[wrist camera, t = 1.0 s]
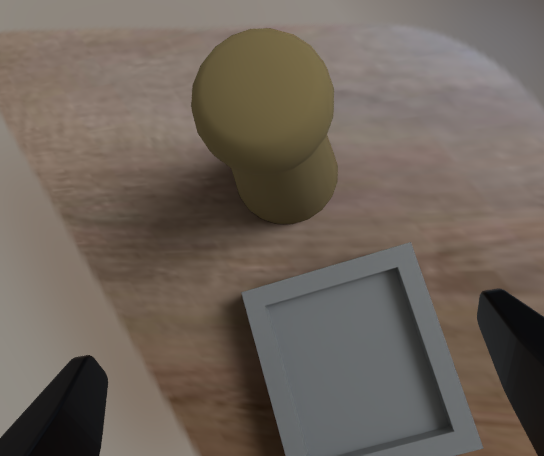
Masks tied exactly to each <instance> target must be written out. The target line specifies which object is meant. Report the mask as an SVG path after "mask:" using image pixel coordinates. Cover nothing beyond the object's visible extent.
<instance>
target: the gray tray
mask: <svg viewBox="0 0 544 456" xmlns="http://www.w3.org/2000/svg"><path fill="white" fill-rule="evenodd" d="M241 293H242V297H243V300H244V304H245V308H246V311H247V315H248V319H249V322H250V326H251V330H252V333H253V337H254V341H255V345H256V348H257V352H258V356H259V359H260V363H261V367H262V370H263V374H264V378H265V381H266V385H267V389H268V393H269V396H270V400H271V404H272V407H273V411H274V415H275V418H276V422H277V426H278V429H279V433H280V437H281V440H282V444H283V448H284V452H285V455H286V456H455V455H459V454H463V453H467V452H471V451H475V450H479V449H483V446H482V443H481V440H480V437H479V434H478V432H477V429H476V426H475V423H474V420H473V417H472V415H471V412H470V409H469V406H468V403H467V400H466V397H465V395H464V392H463V389H462V386H461V383H460V380H459V378H458V375H457V372H456V369H455V366H454V363H453V361H452V358H451V355H450V352H449V349H448V346H447V344H446V341H445V338H444V335H443V332H442V329H441V327H440V324H439V321H438V318H437V315H436V312H435V309H434V307H433V304H432V301H431V298H430V295H429V292H428V290H427V287H426V284H425V281H424V278H423V275H422V273H421V270H420V267H419V264H418V261H417V258H416V256H415V253H414V250H413V247H412V244H411V242H410V243H406V244H403V245H400V246H396V247H393V248H390V249H386V250H383V251H379V252H376V253H373V254H369V255H366V256H363V257H359V258H356V259H352V260H349V261H346V262H342V263H339V264H336V265H332V266H329V267H326V268H322V269H319V270H315V271H312V272H309V273H305V274H302V275H299V276H295V277H292V278H288V279H285V280H282V281H278V282H275V283H272V284H268V285H265V286H262V287H258V288H255V289H251V290H248V291H245V292H241Z"/></svg>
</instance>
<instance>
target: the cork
mask: <svg viewBox="0 0 544 456" xmlns="http://www.w3.org/2000/svg"><path fill="white" fill-rule="evenodd" d="M191 107H192V113H193V117H194V121H195V124H196V128H197V132H198V134H199V136H200V137H201V139H202V140H203V141H204V143H205V144H206V146H207V147H208V149H209V150H210V151H211V153H212V154H213V155H214V156H216V157H217V158H218V159H220V160H221V161H222V162H224V163H225V164H226V165H228V166H229V167H230V168H231V169H232V173H233V176H234V179H235V182H236V186H237V189H238V192H239V196H240V197H241V199H242V200H243V202H244V203H245V205H246V206H247V208H248V209H249V210H250V211H252V212H253V213H254V214H256V215H257V216H258V217H260V218H261V219H264V220H267V221H270V222H273V223H276V224H294V223H297V222H301V221H304V220H307V219H309V218H311V217H312V216H314V215H315V214H317V213H318V212H319V211H321V210H322V209H323V208H324V206H325V205H326V204H327V203H328V201H329V200H330V199H331V197H332V195H333V192H334V190H335V187H336V184H337V172H338V165H337V162H336V159H335V156H334V153H333V150H332V147H331V144H330V142H329V139H328V136H327V132H328V130H329V127H330V124H331V121H332V119H333V111H334V88H333V85H332V82H331V79H330V76H329V73H328V70H327V67H326V65H325V63H324V62H323V60H322V59H321V58H320V57H319V55H318V54H317V53H316V52H315V50H314V49H313V48H312V46H310V45H309V44H307V43H306V42H304V41H303V40H301V39H300V38H298V37H297V36H295V35H293V34H290V33H286V32H282V31H278V30H275V29H271V28H265V29H249V30H246V31H243V32H240V33H237V34H235V35H232V36H230V37H229V38H227V39H226V40H224V41H223V42H222V43H220V44H219V45H217V46H216V47H215V48H214V49H213V50H212V52H211V53H210V54H209V55H208V57H207V58H206V59H205V60H204V62H203V63H202V64H201V66H200V68H199V71H198V73H197V76H196V78H195V81H194V83H193V88H192V102H191Z"/></svg>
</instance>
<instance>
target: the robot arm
mask: <svg viewBox="0 0 544 456" xmlns="http://www.w3.org/2000/svg"><path fill="white" fill-rule="evenodd" d="M477 320H478V324H479V327H480V330H481V333H482V335H483V338H484V340H485V343H486V345H487V348H488V351H489V353H490V356H491V358H492V361H493V364H494V366H495V369H496V371H497V374H498V376H499V379H500V381H501V384H502V386H503V389H504V391H505V393H506V395H507V397H508V399H509V401H510V403H511V405H512V407H513V409H514V411H515V413H516V415H517V417H518V419H519V420H520V422H521V424H522V426H523V428H524V430H525V432H526V434H527V436H528V438H529V440H530V442H531V443H532V445H533V447H534V449H535V451H536V453H537V455H538V456H544V317H543V316H542V315H540V314H539V313H537V312H536V311H535V310H533V309H532V308H530V307H529V306H527V305H526V304H524V303H523V302H521V301H520V300H518V299H517V298H515V297H514V296H512V295H511V294H509V293H508V292H506V291H505V290H503V289H492V290H486V291H482V292H481V294H480V298H479V305H478V312H477ZM107 388H108V378H107V375H106V373H105V371H104V370H103V369H102V368H101V366H100V365H99V364H98V362H97V361H96V360H95V359H94V358H93V357H92V356H90V355H86V356H80V357H75V358H73V359H72V360H71V361H69V363H68V364H67V365H66V366H65V367H64V368H63V369H62V370H61V371H60V372H59V374H58V375H57V376H56V377H55V378H54V379H53V380H52V382H50V384H49V385H48V386H47V387H46V388H45V389H44V390H43V391H42V392H41V394H40V395H39V396H38V397H37V398H36V399H35V400H34V401H33V403H31V405H30V406H29V407H28V408H27V409H26V410H25V411H24V412H23V413H22V415H21V416H20V417H19V418H18V419H17V420H16V421H15V422H14V423H13V425H12V426H11V427H10V428H9V429H8V430H7V431H6V432H5V433H4V434H3V436H2V437H1V438H0V456H99V454H100V449H101V442H102V435H103V425H104V416H105V407H106V397H107Z"/></svg>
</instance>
